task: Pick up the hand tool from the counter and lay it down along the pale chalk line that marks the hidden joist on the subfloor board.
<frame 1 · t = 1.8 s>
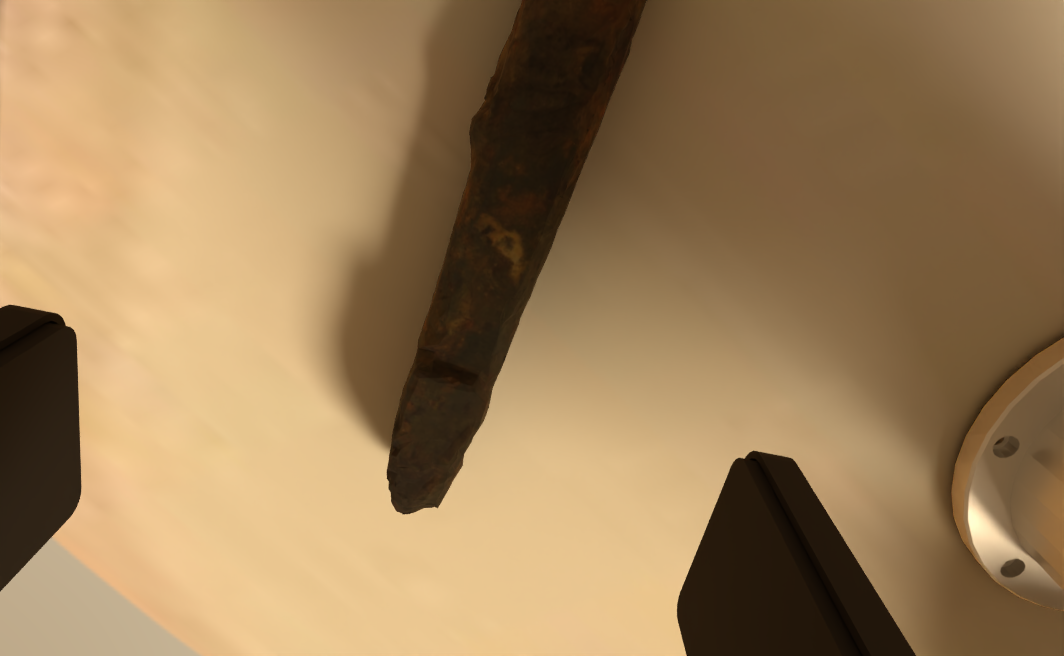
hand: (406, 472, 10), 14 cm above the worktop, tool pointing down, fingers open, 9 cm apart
hand tool: (515, 237, 23), on the worktop
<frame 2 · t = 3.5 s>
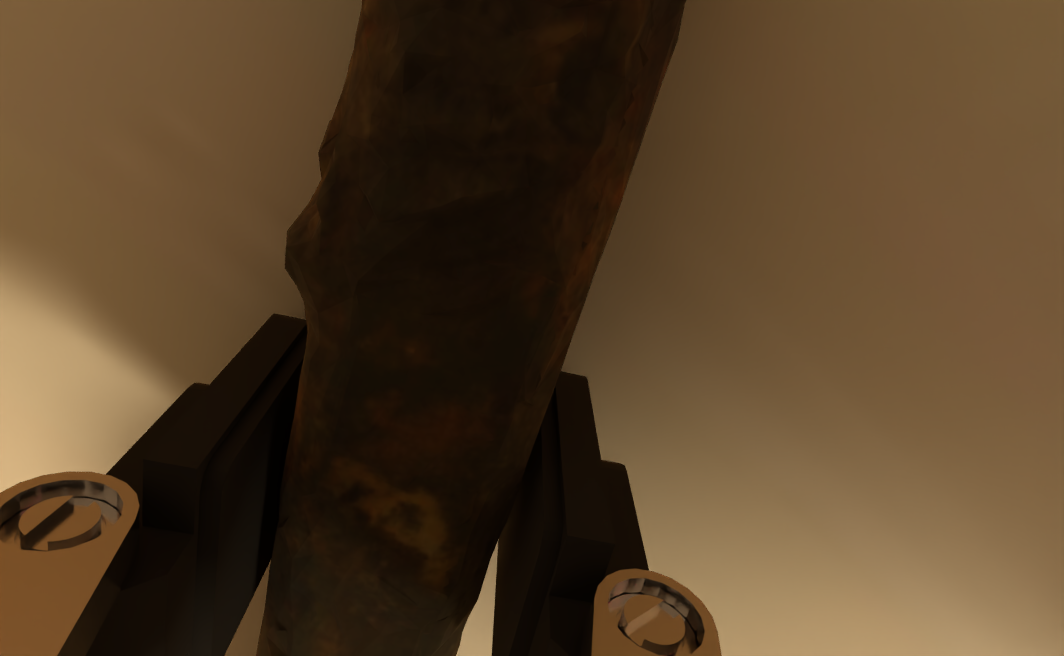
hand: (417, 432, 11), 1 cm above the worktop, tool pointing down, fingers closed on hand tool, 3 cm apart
hand tool: (452, 413, 12), on the worktop, touching gripper
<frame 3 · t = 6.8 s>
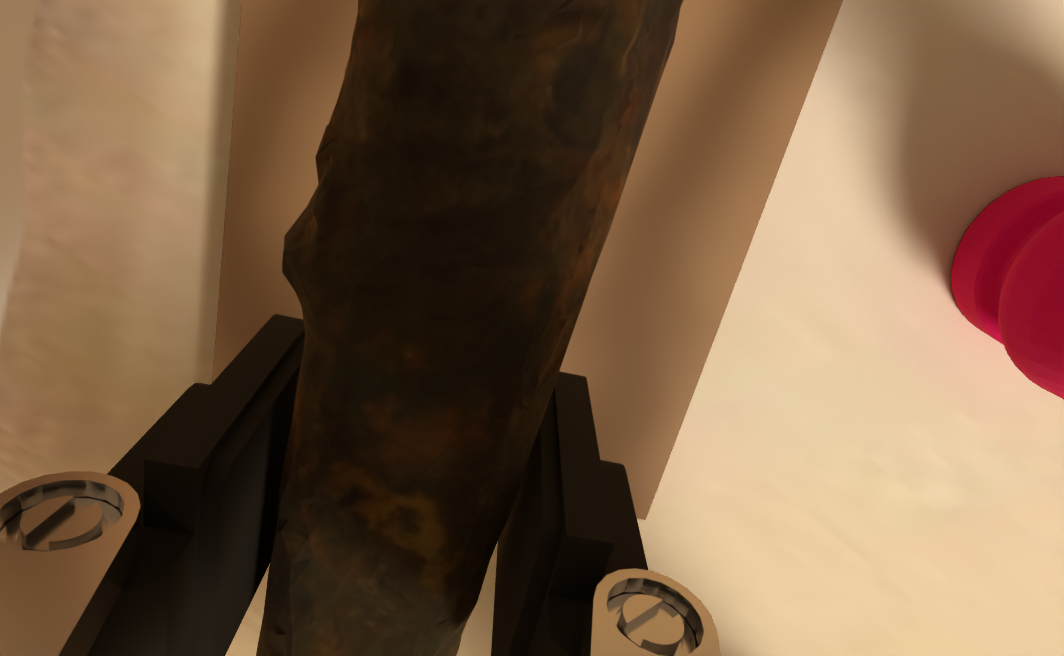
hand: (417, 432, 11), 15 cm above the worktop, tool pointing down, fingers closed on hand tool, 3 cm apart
subfloor board: (507, 155, 24), on the worktop
hand tool: (451, 416, 12), point 15 cm above the worktop, touching gripper
pepper mill: (1030, 257, 26), on the worktop
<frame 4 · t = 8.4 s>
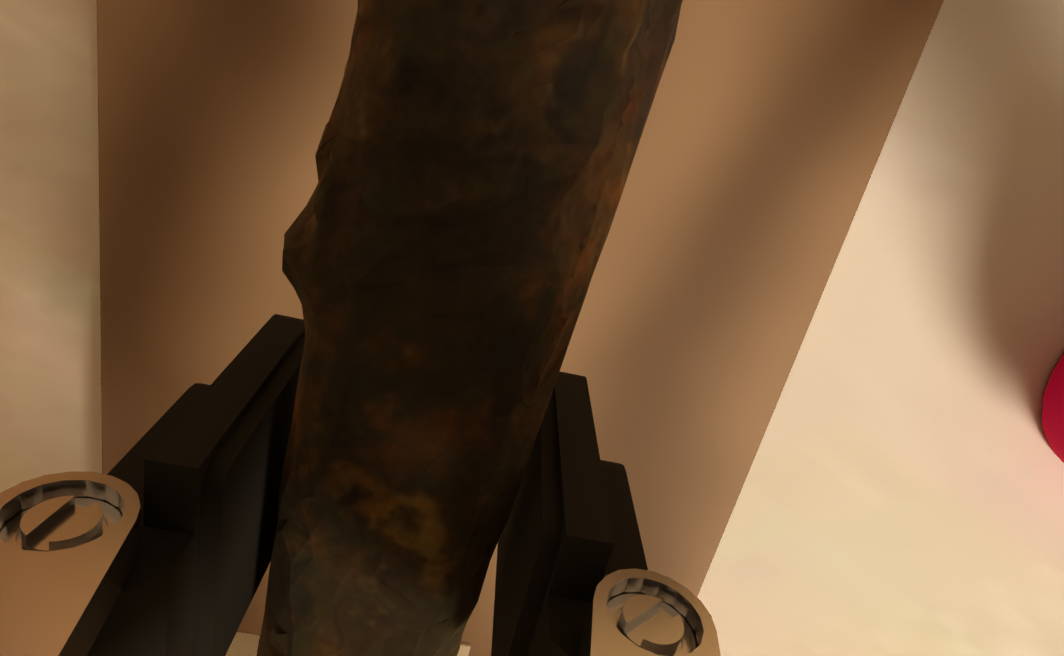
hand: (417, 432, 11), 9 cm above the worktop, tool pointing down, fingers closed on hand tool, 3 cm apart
subfloor board: (466, 273, 19), on the worktop
hand tool: (452, 415, 12), point 8 cm above the worktop, touching gripper
when the fingers open (3 cm above the worktop, at t = 10.0 s): hand tool drops 1 cm, resting on subfloor board.
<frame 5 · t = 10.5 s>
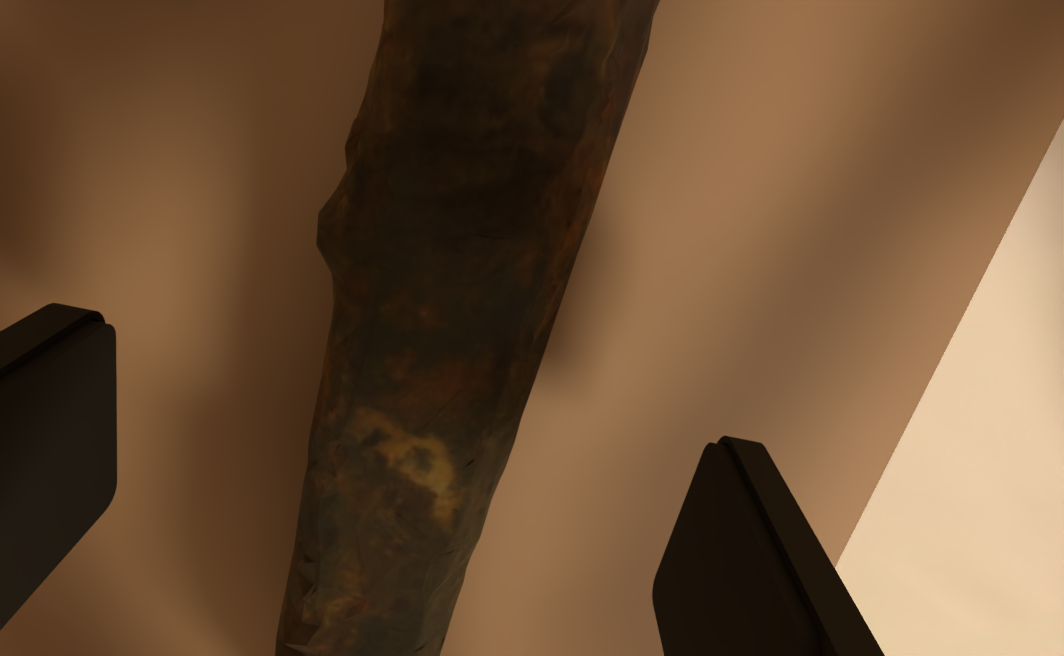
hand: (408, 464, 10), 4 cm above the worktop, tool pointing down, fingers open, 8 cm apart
subfloor board: (440, 346, 14), on the worktop
hand tool: (456, 383, 13), point 1 cm above the worktop, touching subfloor board
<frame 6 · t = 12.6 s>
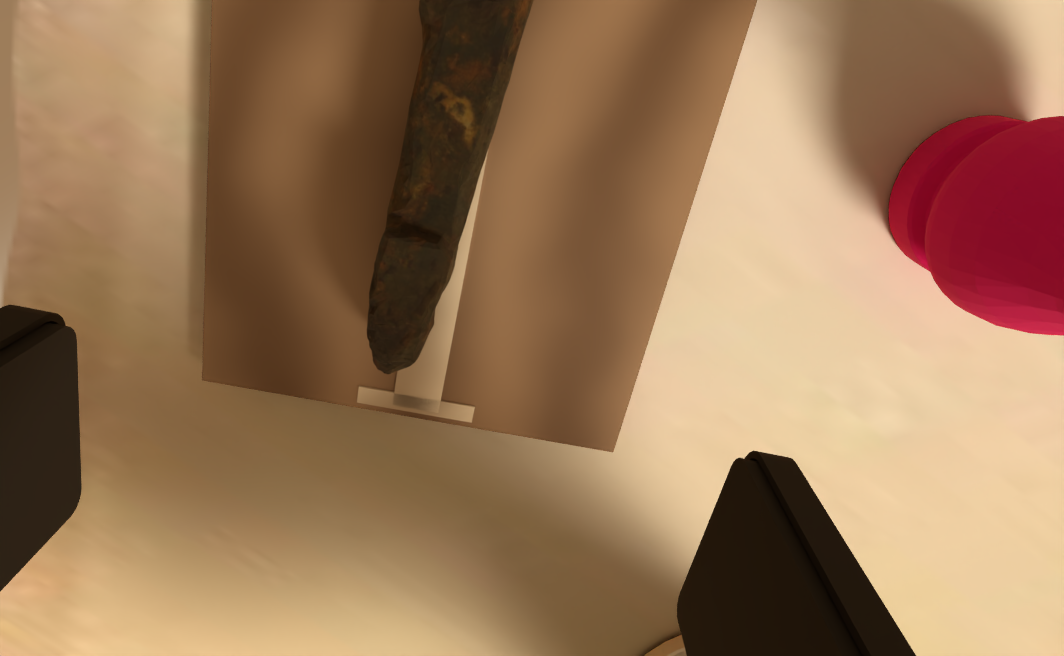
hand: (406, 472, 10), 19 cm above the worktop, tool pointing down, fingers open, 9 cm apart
subfloor board: (468, 110, 26), on the worktop
hand tool: (470, 119, 25), point 1 cm above the worktop, touching subfloor board
pepper mill: (962, 194, 28), on the worktop
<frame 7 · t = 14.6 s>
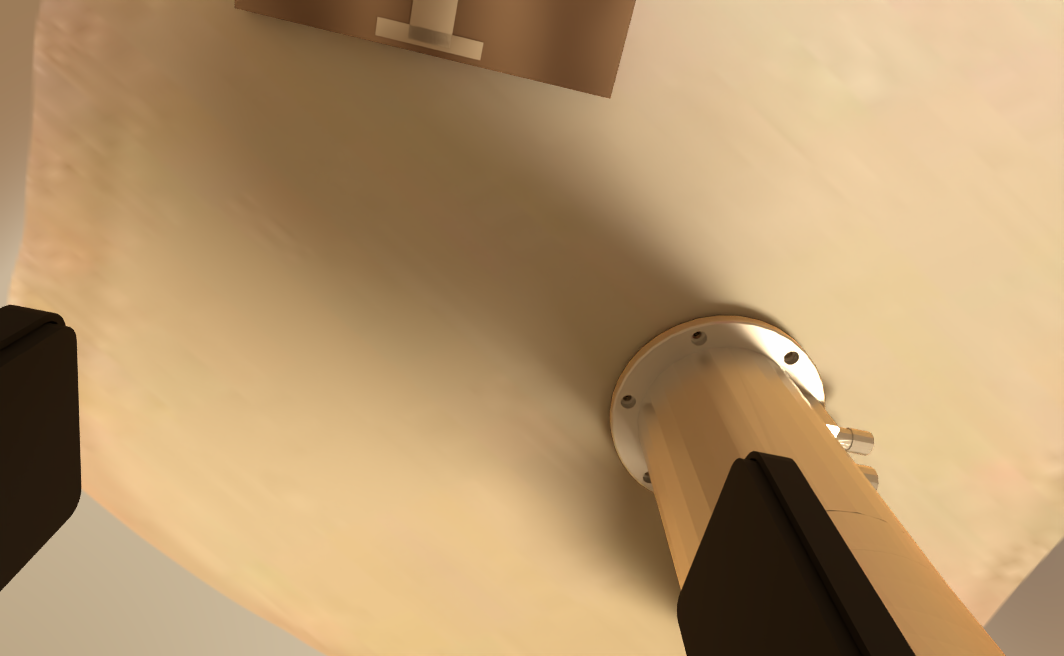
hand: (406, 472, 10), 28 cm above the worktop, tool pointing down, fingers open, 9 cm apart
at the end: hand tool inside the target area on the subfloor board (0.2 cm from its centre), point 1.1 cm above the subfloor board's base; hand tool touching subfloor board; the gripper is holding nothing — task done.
